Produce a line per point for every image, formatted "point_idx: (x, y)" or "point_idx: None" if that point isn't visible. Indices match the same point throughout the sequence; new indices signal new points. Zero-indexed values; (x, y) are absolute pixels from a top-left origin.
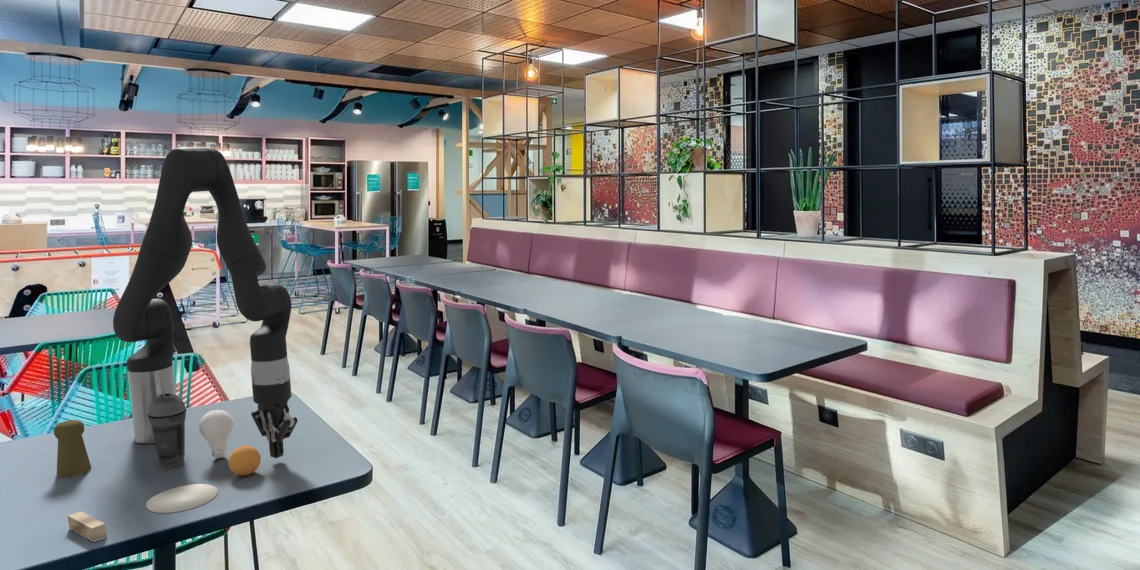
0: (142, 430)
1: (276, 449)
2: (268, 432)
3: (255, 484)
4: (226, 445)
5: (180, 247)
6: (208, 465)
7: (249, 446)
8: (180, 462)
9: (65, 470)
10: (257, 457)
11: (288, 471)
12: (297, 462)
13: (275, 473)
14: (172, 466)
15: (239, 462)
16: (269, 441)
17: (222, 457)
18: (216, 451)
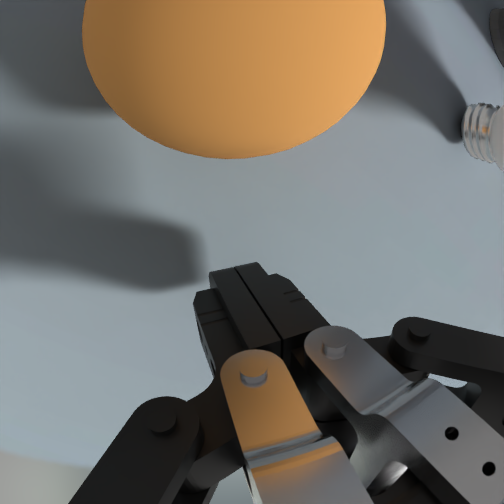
0: None
1: (216, 319)
2: (358, 395)
3: (4, 32)
4: (498, 161)
5: None
6: (449, 60)
7: (269, 35)
8: (499, 38)
9: None
10: (101, 84)
11: (30, 257)
12: (128, 341)
13: (53, 187)
14: (493, 15)
15: None
16: (305, 329)
17: (461, 129)
18: (492, 112)
